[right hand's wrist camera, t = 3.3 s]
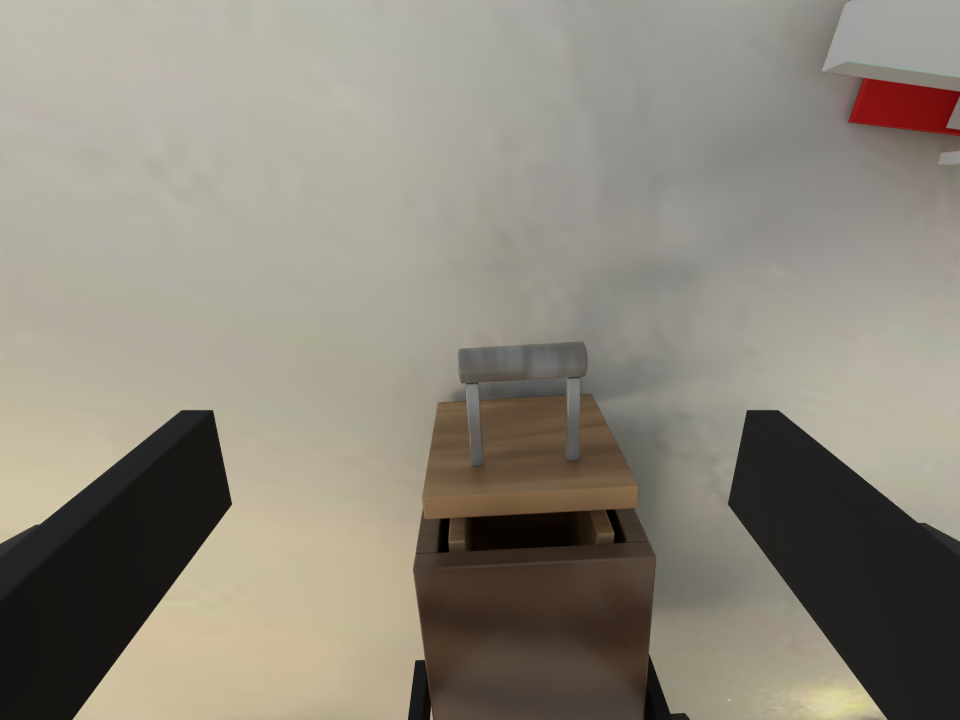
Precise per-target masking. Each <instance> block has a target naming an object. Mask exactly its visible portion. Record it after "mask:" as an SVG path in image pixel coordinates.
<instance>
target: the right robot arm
mask: <svg viewBox="0 0 960 720" xmlns="http://www.w3.org/2000/svg"><path fill="white" fill-rule="evenodd" d="M231 505H232V502H231V497H230V492H229V487H228V482H227V477H226V472H225V467H224V462H223V457H222V452H221V447H220V442H219V438H218V433H217V428H216V423H215V418H214V413H213V410H182V411H180V412H179V413H178V414H177V415H175V416H174V417H173V418H172V419H170V420H169V421H168V422H167V423H165V424H164V425H163V426H162V427H160V428H159V429H158V430H157V431H155V432H154V433H153V434H152V435H150V436H149V437H148V438H147V439H146V440H144V441H143V442H142V443H141V444H139V445H138V446H137V447H136V448H134V449H133V450H132V451H131V452H129V453H128V454H127V455H126V456H124V457H123V458H122V459H121V460H119V461H118V462H117V463H116V464H115V465H113V466H112V467H111V468H110V469H108V470H107V471H106V472H105V473H103V474H102V475H101V476H100V477H98V478H97V479H96V480H95V481H93V482H92V483H91V484H90V485H88V486H87V487H86V488H85V489H84V490H82V491H81V492H80V493H79V494H77V495H76V496H75V497H74V498H72V499H71V500H70V501H69V502H67V503H66V504H65V505H64V506H62V507H61V508H60V509H59V510H57V511H56V512H55V513H54V514H52V515H51V516H50V517H49V518H48V519H46V520H45V521H44V522H43V523H41V524H40V525H35V526H33V527H31V528H29V529H27V530H25V531H23V532H22V533H20V534H18V535H16V536H14V537H12V538H10V539H8V540H7V541H5V542H3V543H1V544H0V720H72V719H73V718H74V717H75V715H76V714H77V713H78V711H79V710H80V709H81V707H82V706H83V705H84V703H85V702H86V701H87V699H88V698H89V697H90V695H91V694H92V692H93V691H94V690H95V688H96V687H97V686H98V684H99V683H100V682H101V680H102V679H103V678H104V676H105V675H106V674H107V672H108V671H109V670H110V668H111V667H112V666H113V664H114V663H115V661H116V660H117V659H118V657H119V656H120V655H121V653H122V652H123V651H124V649H125V648H126V647H127V645H128V644H129V643H130V641H131V640H132V639H133V637H134V636H135V634H136V633H137V632H138V630H139V629H140V628H141V626H142V625H143V624H144V622H145V621H146V620H147V618H148V617H149V616H150V614H151V613H152V612H153V610H154V609H155V608H156V606H157V605H158V603H159V602H160V601H161V599H162V598H163V597H164V595H165V594H166V593H167V591H168V590H169V589H170V587H171V586H172V585H173V583H174V582H175V581H176V579H177V578H178V576H179V575H180V574H181V572H182V571H183V570H184V568H185V567H186V566H187V564H188V563H189V562H190V560H191V559H192V558H193V556H194V555H195V554H196V552H197V551H198V550H199V548H200V547H201V545H202V544H203V543H204V541H205V540H206V539H207V537H208V536H209V535H210V533H211V532H212V531H213V529H214V528H215V527H216V525H217V524H218V523H219V521H220V520H221V519H222V517H223V516H224V514H225V513H226V512H227V510H228V509H229V508H230V506H231ZM728 505H729V506H730V508H731V509H732V510H733V512H734V513H735V514H736V516H737V517H738V519H739V520H740V521H741V523H742V524H743V525H744V527H745V528H746V529H747V531H748V532H749V533H750V535H751V536H752V537H753V539H754V540H755V541H756V543H757V544H758V545H759V547H760V548H761V550H762V551H763V552H764V554H765V555H766V556H767V558H768V559H769V560H770V562H771V563H772V564H773V566H774V567H775V568H776V570H777V571H778V572H779V574H780V575H781V576H782V578H783V579H784V581H785V582H786V583H787V585H788V586H789V587H790V589H791V590H792V591H793V593H794V594H795V595H796V597H797V598H798V599H799V601H800V602H801V603H802V605H803V606H804V608H805V609H806V610H807V612H808V613H809V614H810V616H811V617H812V618H813V620H814V621H815V622H816V624H817V625H818V626H819V628H820V629H821V630H822V632H823V633H824V634H825V636H826V637H827V639H828V640H829V641H830V643H831V644H832V645H833V647H834V648H835V649H836V651H837V652H838V653H839V655H840V656H841V657H842V659H843V660H844V661H845V663H846V664H847V666H848V667H849V668H850V670H851V671H852V672H853V674H854V675H855V676H856V678H857V679H858V680H859V682H860V683H861V684H862V686H863V687H864V688H865V690H866V691H867V692H868V694H869V695H870V697H871V698H872V699H873V701H874V702H875V703H876V705H877V706H878V707H879V709H880V710H881V711H882V713H883V714H884V715H885V717H886V718H887V719H888V720H960V542H959V541H958V540H956V539H954V538H952V537H950V536H948V535H946V534H944V533H943V532H941V531H939V530H937V529H935V528H933V527H931V526H929V525H928V524H926V523H917V522H916V521H915V520H914V519H912V518H911V517H910V516H909V515H908V514H906V513H905V512H904V511H903V510H901V509H900V508H899V507H898V506H896V505H895V504H894V503H893V502H891V501H890V500H889V499H888V498H886V497H885V496H884V495H883V494H881V493H880V492H879V491H878V490H876V489H875V488H874V487H873V486H872V485H870V484H869V483H868V482H867V481H865V480H864V479H863V478H862V477H860V476H859V475H858V474H857V473H855V472H854V471H853V470H852V469H850V468H849V467H848V466H847V465H845V464H844V463H843V462H842V461H841V460H839V459H838V458H837V457H836V456H834V455H833V454H832V453H831V452H829V451H828V450H827V449H826V448H824V447H823V446H822V445H821V444H819V443H818V442H817V441H816V440H814V439H813V438H812V437H811V436H810V435H808V434H807V433H806V432H805V431H803V430H802V429H801V428H800V427H798V426H797V425H796V424H795V423H793V422H792V421H791V420H790V419H788V418H787V417H786V416H785V415H783V414H782V413H781V412H780V411H778V410H747V413H746V418H745V423H744V428H743V433H742V438H741V442H740V447H739V452H738V457H737V462H736V467H735V472H734V477H733V482H732V487H731V492H730V497H729V502H728Z"/></svg>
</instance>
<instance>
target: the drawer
mask: <svg viewBox="0 0 960 720" xmlns="http://www.w3.org/2000/svg"><path fill="white" fill-rule="evenodd" d="M458 361H459V376H460V381H461V383H465V388H466V401H460V402H443V403H438V405H437V411H436V417H435V424H434V430H433V436H432V442H431V448H430V454H429V460H428V466H427V472H426V478H425V484H424V490H423V496H422V502H423V510H424V518H425V519H443V518H450V527H449V540H448V544H449V552H465V551H484V550H502V549H521V548H540V547H559V546H578V545H597V544H614V531H613V529H612V526H611V523H610V521H609V518H608V515H607V513H606V510H610V509H628V508H637V507H638V494H639V485H638V483H637V482H636V480H635V478H634V476H633V474H632V472H631V470H630V468H629V466H628V464H627V462H626V460H625V458H624V456H623V454H622V452H621V450H620V448H619V446H618V445H617V443H616V441H615V439H614V437H613V435H612V433H611V431H610V429H609V427H608V425H607V423H606V421H605V419H604V417H603V415H602V413H601V411H600V409H599V407H598V406H597V404H596V402H595V400H594V398H593V396H592V394H582V395H580V381H581V379H580V376H585V375H586V372H587V352H586V347H585V345H584V343H583V342H566V343H550V344H533V345H516V346H499V347H482V348H465V349H459V352H458ZM563 377H566V395H564V396H547V397H530V398H512V399H495V400H480V395H479V382H494V381H512V380H529V379H546V378H563Z"/></svg>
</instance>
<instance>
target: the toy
mask: <svg viewBox="0 0 960 720" xmlns="http://www.w3.org/2000/svg"><path fill="white" fill-rule="evenodd" d="M822 72H828V73H835V74H842V75H849V76H856V77H863V78H864V79H863V82H862V85H861V88H860V91H859V94H858V96H857V99H856V102H855V105H854V108H853V111H852V113H851V116H850V119H849V123H858V124H866V125H874V126H882V127H890V128H899V129H907V130H915V131H923V132H931V133H939V134H948V135H956V136H960V0H851V1H849V2H847V3H845V5H844V8H843V11H842V14H841V17H840V20H839V22H838V25H837V28H836V31H835V34H834V37H833V40H832V43H831V46H830V49H829V51H828V54H827V57H826V60H825V63H824V66H823V69H822ZM937 165H960V151H952V152H941V154H940V157H939V161H938V164H937Z"/></svg>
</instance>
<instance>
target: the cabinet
mask: <svg viewBox="0 0 960 720" xmlns="http://www.w3.org/2000/svg"><path fill="white" fill-rule="evenodd" d="M606 513H607V515H608V518H609V521H610V523H611V526H612V529H613V531H614V544H597V545H578V546H559V547H540V548H521V549H502V550H484V551H465V552H449V544H448V540H449V527H450V518H443V519H425V518H424V510H422V516H421V523H420V529H419V535H418V541H417V548H416V556H415V561H414V567H413V573H414V580H415V587H416V595H417V602H418V610H419V617H420V625H421V632H422V640H423V647H424V655H425V662H426V669H427V677H428V684H429V692H430V699H431V707H432V714H433V720H644V710H645V697H646V684H647V670H648V657H649V644H650V631H651V618H652V604H653V591H654V578H655V565H656V556H655V553H654V551H653V549H652V547H651V545H650V543H649V540H648V538H647V536H646V534H645V532H644V529H643V527H642V525H641V523H640V521H639V519H638V516H637V514H636V512H635V510H634V508H628V509H610V510H606Z"/></svg>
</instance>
